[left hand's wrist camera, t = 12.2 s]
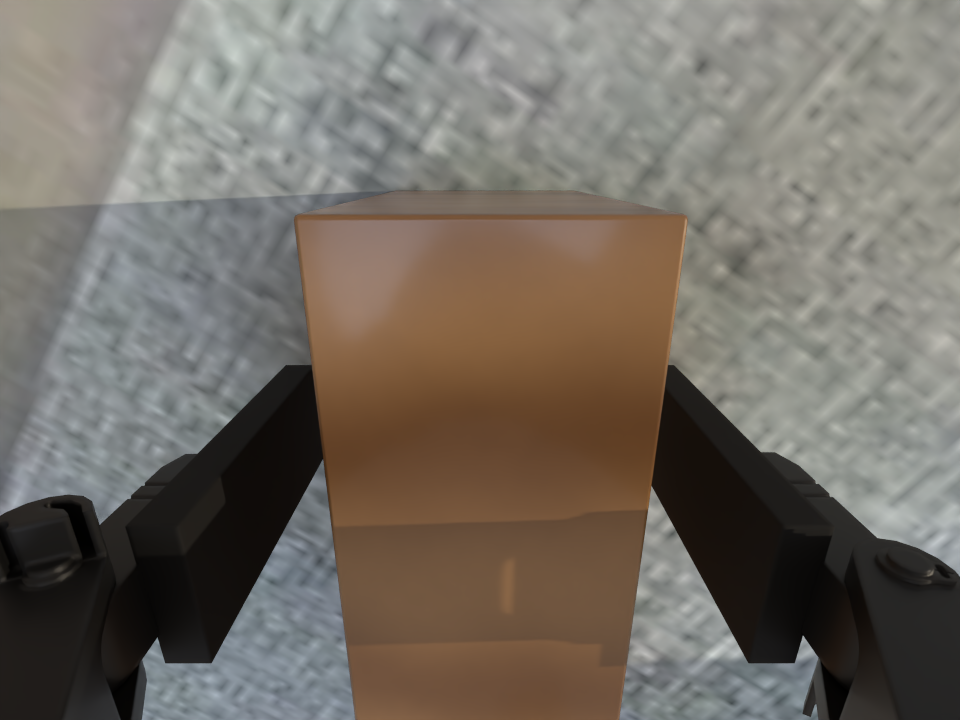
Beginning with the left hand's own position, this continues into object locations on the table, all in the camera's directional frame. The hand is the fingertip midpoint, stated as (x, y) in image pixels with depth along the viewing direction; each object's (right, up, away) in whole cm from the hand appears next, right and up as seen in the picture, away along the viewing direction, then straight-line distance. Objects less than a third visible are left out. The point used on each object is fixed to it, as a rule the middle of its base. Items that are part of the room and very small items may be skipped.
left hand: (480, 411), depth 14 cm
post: (0, -27, +12) cm, 30 cm away
